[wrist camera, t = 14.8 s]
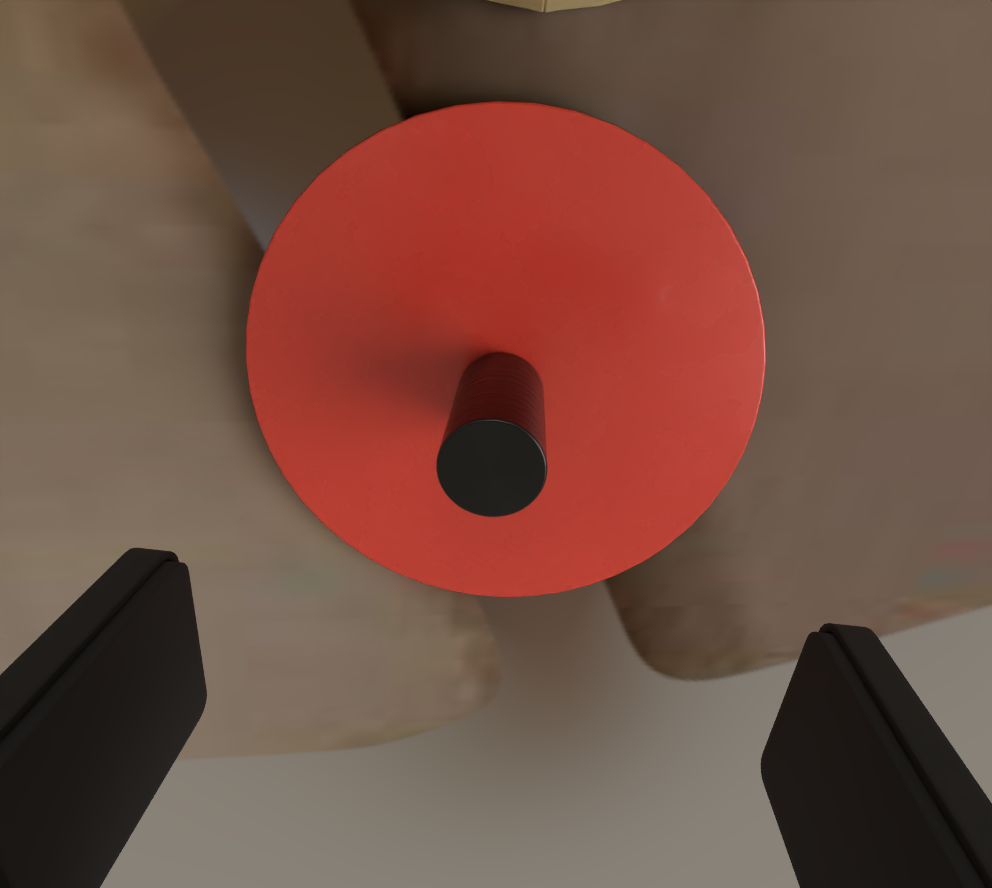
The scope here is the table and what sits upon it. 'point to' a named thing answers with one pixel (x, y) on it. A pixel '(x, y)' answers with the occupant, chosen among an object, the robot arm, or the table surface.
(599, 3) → the tin
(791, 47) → the table surface
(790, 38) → the table surface
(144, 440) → the table surface
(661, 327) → the lid
